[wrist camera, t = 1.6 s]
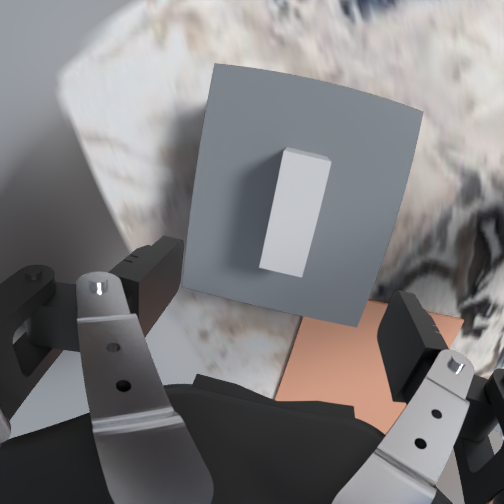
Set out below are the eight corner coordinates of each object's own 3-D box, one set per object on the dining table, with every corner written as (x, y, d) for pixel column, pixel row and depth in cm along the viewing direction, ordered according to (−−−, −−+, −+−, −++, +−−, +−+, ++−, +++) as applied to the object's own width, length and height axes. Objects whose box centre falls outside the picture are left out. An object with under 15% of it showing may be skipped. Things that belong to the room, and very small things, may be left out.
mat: (463, 319, 33) (464, 320, 33) (391, 431, 41) (392, 433, 41) (312, 286, 34) (312, 288, 34) (268, 414, 43) (268, 416, 43)
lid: (414, 112, 22) (444, 109, 16) (354, 315, 29) (362, 355, 24) (221, 67, 23) (198, 52, 17) (189, 277, 30) (165, 309, 25)
